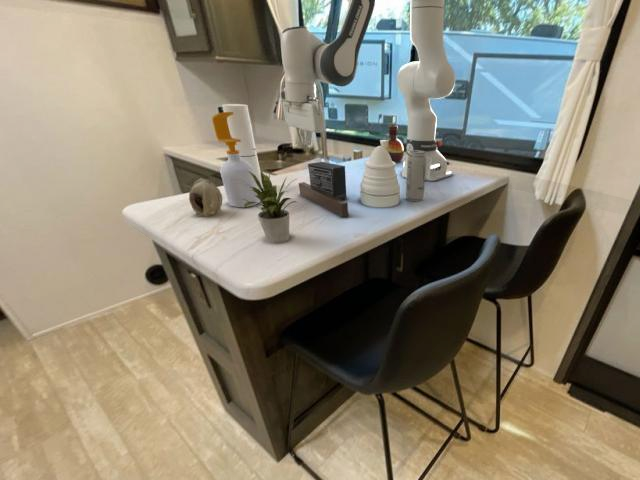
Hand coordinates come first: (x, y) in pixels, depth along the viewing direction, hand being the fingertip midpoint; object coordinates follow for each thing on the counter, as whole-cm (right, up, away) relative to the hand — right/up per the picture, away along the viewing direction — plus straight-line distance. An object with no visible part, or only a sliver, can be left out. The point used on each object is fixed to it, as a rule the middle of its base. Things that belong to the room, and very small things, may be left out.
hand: (306, 144), depth 106 cm
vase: (+27, +17, +53) cm, 62 cm away
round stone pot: (-23, -27, -14) cm, 38 cm away
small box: (+7, -17, +1) cm, 19 cm away
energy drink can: (+36, -17, +4) cm, 40 cm away
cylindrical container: (-21, -12, +8) cm, 25 cm away
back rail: (+6, -21, -5) cm, 23 cm away
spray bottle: (-17, -21, -6) cm, 28 cm away
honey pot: (+24, -18, +1) cm, 30 cm away
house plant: (-1, -36, -26) cm, 44 cm away
